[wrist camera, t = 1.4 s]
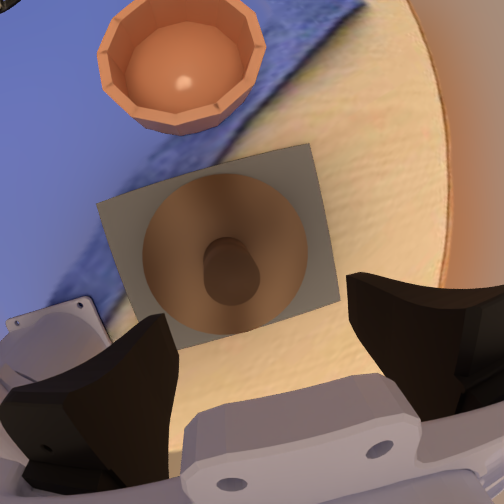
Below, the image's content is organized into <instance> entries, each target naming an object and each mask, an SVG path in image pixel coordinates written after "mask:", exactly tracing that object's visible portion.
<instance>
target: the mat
mask: <svg viewBox="0 0 504 504" xmlns="http://www.w3.org/2000/svg"><path fill="white" fill-rule="evenodd" d="M214 174H238V175H243V176H248V177H251V178H254V179H257V180H260V181H262V182H264V183H266V184H268V185H270V186H271V187H272V188H274V189H275V190H277V191H278V192H279V193H280V194H282V195H283V196H284V197H285V198H286V199H287V200H288V201H289V203H290V204H291V205H292V206H293V208H294V209H295V211H296V212H297V214H298V216H299V218H300V220H301V222H302V224H303V227H304V230H305V234H306V238H307V245H308V260H307V268H306V272H305V276H304V279H303V281H302V284H301V286H300V288H299V290H298V292H297V294H296V296H295V297H294V298H293V300H292V301H291V303H290V304H289V305H288V306H287V307H286V308H285V309H284V310H283V311H282V312H281V313H280V314H279V315H278V316H276V317H275V318H274V319H272V320H271V321H269V322H268V323H266V324H264V325H262V326H266V325H269V324H272V323H275V322H278V321H282V320H285V319H288V318H291V317H294V316H297V315H300V314H303V313H306V312H309V311H312V310H315V309H318V308H321V307H324V306H327V305H330V304H333V303H335V302H338V301H341V300H340V294H339V287H338V281H337V275H336V269H335V263H334V257H333V252H332V246H331V241H330V235H329V230H328V225H327V220H326V215H325V210H324V205H323V201H322V196H321V191H320V187H319V182H318V178H317V173H316V169H315V165H314V160H313V156H312V152H311V148H310V144H309V143H308V144H303V145H299V146H294V147H289V148H285V149H280V150H276V151H271V152H267V153H263V154H259V155H254V156H250V157H246V158H242V159H238V160H234V161H231V162H227V163H223V164H219V165H216V166H212V167H208V168H205V169H201V170H198V171H194V172H191V173H187V174H184V175H181V176H177V177H174V178H171V179H167V180H164V181H161V182H158V183H155V184H152V185H149V186H145V187H142V188H139V189H136V190H133V191H131V192H128V193H125V194H122V195H119V196H116V197H113V198H110V199H108V200H105V201H102V202H100V203H97V204H96V205H97V209H98V212H99V215H100V219H101V222H102V225H103V228H104V231H105V234H106V237H107V240H108V243H109V246H110V249H111V252H112V255H113V258H114V261H115V264H116V266H117V269H118V272H119V274H120V277H121V280H122V282H123V285H124V288H125V290H126V293H127V295H128V298H129V300H130V303H131V305H132V308H133V310H134V312H135V315H136V317H137V320H138V322H140V321H142V320H143V319H144V318H146V317H148V316H149V315H154V314H160V313H164V314H165V317H166V320H167V323H168V325H169V328H170V331H171V334H172V337H173V340H174V343H175V346H176V348H177V350H180V349H184V348H188V347H191V346H195V345H199V344H203V343H207V342H210V341H214V340H217V339H221V338H225V337H228V336H232V335H235V334H231V335H216V334H208V333H204V332H200V331H197V330H194V329H192V328H189V327H187V326H185V325H183V324H181V323H180V322H178V321H177V320H175V319H174V318H173V317H171V316H170V315H169V314H168V313H167V312H166V311H165V310H164V309H163V308H162V307H161V306H160V305H159V303H158V302H157V301H156V299H155V298H154V296H153V294H152V293H151V291H150V288H149V286H148V284H147V281H146V278H145V274H144V269H143V262H142V250H143V242H144V237H145V234H146V230H147V228H148V225H149V223H150V221H151V219H152V217H153V215H154V214H155V212H156V210H157V209H158V208H159V206H160V205H161V204H162V203H163V201H164V200H165V199H166V198H168V197H169V196H170V195H171V194H172V193H173V192H174V191H176V190H177V189H179V188H180V187H181V186H183V185H185V184H187V183H189V182H191V181H193V180H196V179H198V178H201V177H205V176H209V175H214ZM262 326H260V327H262ZM258 328H259V327H258Z"/></svg>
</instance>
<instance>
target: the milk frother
mask: <svg viewBox="0 0 504 504" xmlns="http://www.w3.org/2000/svg"><path fill="white" fill-rule="evenodd" d="M20 1H21V0H5V1H3V0H0V14H1V13H3V12H5V11H7V10H9V9H10V8H12V7H13V6H14V5H16V4H17V3H18V2H20Z"/></svg>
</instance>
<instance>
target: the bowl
mask: <svg viewBox="0 0 504 504" xmlns="http://www.w3.org/2000/svg"><path fill="white" fill-rule="evenodd" d="M265 50H266V44H265V41H264V38H263V35H262V32H261V29H260V26H259V23H258V20H257V17H256V14H255V12H254V11H252V10H251V9H250V8H249V7H247V6H246V5H245V4H244V3H243V2H241V1H240V0H134V1H133V2H132V3H130V4H129V5H128V6H127V7H125V8H124V9H123V10H122V11H120V12H119V13H118V14H117V15H116V16H114V17H113V18H112V20H111V22H110V24H109V26H108V29H107V31H106V33H105V36H104V37H103V40H102V43H101V44H100V47H99V49H98V52H97V59H98V65H99V71H100V77H101V83H102V88H103V91H105V92H106V93H107V94H108V95H109V96H110V97H111V98H112V99H113V100H114V101H115V102H116V103H117V104H118V105H119V106H121V107H122V108H123V109H124V110H125V111H126V112H127V113H128V114H129V115H130V116H131V117H132V118H133V119H135V120H136V121H137V122H138V123H140V124H141V125H142V126H143V127H145V128H146V129H151V130H155V131H158V132H161V133H165V134H172V135H178V136H183V135H186V134H193V133H198V132H201V131H204V130H207V129H209V128H212V127H216V126H218V125H219V124H220V123H221V122H222V121H224V120H225V119H226V118H227V117H229V116H230V115H231V114H232V113H233V112H234V111H235V110H236V108H238V107H239V106H240V105H241V104H242V103H243V102H244V101H245V99H246V97H247V96H248V94H249V92H250V91H251V89H252V87H253V86H254V84H255V81H256V78H257V75H258V71H259V68H260V65H261V62H262V59H263V56H264V53H265Z"/></svg>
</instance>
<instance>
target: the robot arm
mask: <svg viewBox="0 0 504 504" xmlns="http://www.w3.org/2000/svg"><path fill="white" fill-rule="evenodd" d="M346 282H347V296H348V313H349V322H350V324H351V326H352V328H353V330H354V332H355V334H356V335H357V337H358V339H359V340H360V342H361V343H362V345H363V346H364V347H365V349H366V350H367V352H368V353H369V354H370V356H371V357H372V358H373V360H374V361H375V362H376V364H377V365H378V367H379V368H380V369H381V371H382V372H383V374H384V375H385V376H383V375H381V374H379V373H372V374H362V375H351V376H348V377H345V378H341V379H338V380H334V381H330V382H327V383H323V384H319V385H315V386H311V387H307V388H303V389H299V390H295V391H290V392H286V393H281V394H276V395H272V396H267V397H262V398H256V399H251V400H245V401H240V402H234V403H227V404H223V405H220V406H217V407H215V408H212V409H209V410H206V411H203V412H200V413H198V414H197V415H196V416H195V417H194V418H193V419H192V421H191V422H190V423H189V424H188V425H187V426H186V427H185V429H184V439H183V449H182V460H181V472H180V476H178V477H174V478H171V479H169V470H168V442H169V424H170V417H171V412H172V407H173V401H174V396H175V391H176V386H177V381H178V373H179V354H178V351H177V348H176V346H175V343H174V340H173V337H172V334H171V331H170V328H169V325H168V323H167V320H166V317H165V314H164V313H160V314H154V315H149V316H148V317H146V318H144V319H143V320H142V321H140V322H139V323H138V324H137V325H135V326H134V327H133V328H132V329H130V330H129V331H128V332H127V333H126V334H124V335H123V336H122V337H121V338H119V339H118V340H117V341H115V342H114V343H113V344H112V343H111V341H110V339H109V337H108V335H107V333H106V331H105V329H104V326H103V324H102V322H101V320H100V318H99V315H98V313H97V311H96V309H95V306H94V304H93V302H92V300H91V298H89V297H88V296H83V297H80V298H77V299H73V300H70V301H66V302H63V303H60V304H56V305H53V306H50V307H46V308H43V309H39V310H36V311H33V312H29V313H26V314H23V315H20V316H16V317H13V318H9V319H8V320H7V321H6V327H7V329H8V331H9V333H8V335H6V336H5V337H4V338H3V339H2V340H1V342H0V504H494V503H493V501H492V499H493V498H494V497H496V496H497V495H498V494H500V493H501V492H502V491H503V490H504V285H500V286H495V287H489V288H477V289H443V288H434V287H426V286H419V285H415V284H410V283H405V282H401V281H397V280H393V279H389V278H385V277H382V276H378V275H374V274H370V273H365V272H358V273H354V274H350V275H346ZM79 302H80V303H82V304H83V307H81V306H80V305H79ZM17 321H18V322H19V324H18V323H17Z"/></svg>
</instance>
